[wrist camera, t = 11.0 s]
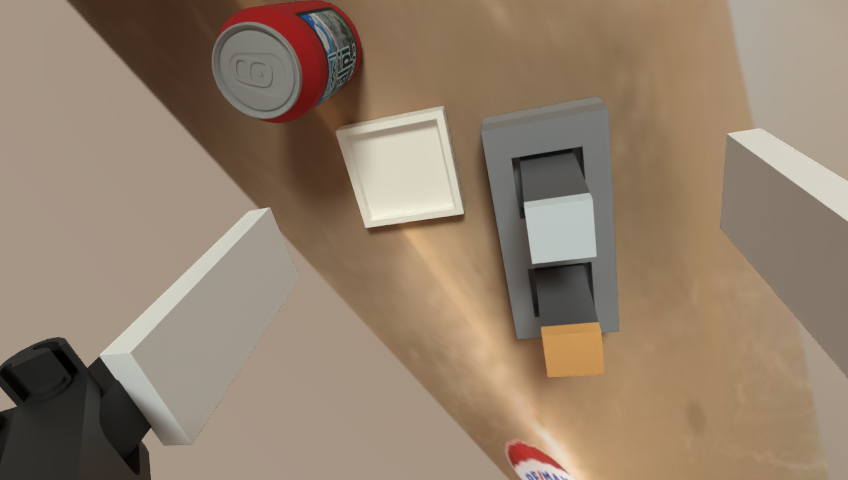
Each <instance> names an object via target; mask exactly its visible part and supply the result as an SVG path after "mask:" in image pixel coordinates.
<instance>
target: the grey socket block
mask: <svg viewBox="0 0 848 480" xmlns="http://www.w3.org/2000/svg"><path fill="white" fill-rule="evenodd" d="M481 135H482V141H483V146H484V152H485V158H486V164H487V169H488V175H489V181H490V187H491V192H492V198H493V204H494V210H495V215H496V221H497V227H498V233H499V238H500V244H501V250H502V256H503V261H504V267H505V273H506V279H507V284H508V290H509V296H510V302H511V307H512V313H513V319H514V325H515V330H516V336H517V340H518V339H530V338H542V332H541V323H540V314H539V305H538V295H537V286H536V277H535V268H540V267H549V266H558V265H567V264H576V263H582V264H583V267H584V271H585V275H586V278H587V282H588V285H589V289H590V293H591V296H592V300H593V303H594V307H595V311H596V314H597V318H598V321H599V325H600V329H601V333H607V332H619V315H618V294H617V273H616V253H615V232H614V211H613V190H612V170H611V149H610V128H609V109H608V107H607V106H606V105H605V104H604V102H603V101H602V100H601V99H600V97H599V96H597V97H592V98H586V99H581V100H576V101H571V102H565V103H560V104H555V105H549V106H544V107H539V108H534V109H528V110H523V111H518V112H512V113H507V114H502V115H496V116H491V117H486V118H483V121H482V128H481ZM569 148H572V149H573V152H574V154H575V157H576V159H577V162H578V164H579V167H580V169H581V172H582V174H583V177H584V179H585V182H586V184H587V187H588V189H589V191H590V194H591V196H592V199H593V211H594V226H595V240H596V254H597V257H589V258H580V259H572V260H563V261H554V262H545V263H536V264H532V259H531V252H530V245H529V238H528V231H527V223H526V216H525V209H524V199H523V188H522V178H521V167H520V157H521V156H527V155H533V154H539V153H545V152H551V151H557V150H563V149H569Z"/></svg>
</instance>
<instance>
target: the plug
mask: <svg viewBox="0 0 848 480" xmlns="http://www.w3.org/2000/svg"><path fill="white" fill-rule="evenodd" d="M535 277H536V286H537V295H538V305H539V314H540V323H541V332H542V340H543V347H544V354H545V361H546V368H547V375H548V377H565V376H582V375H599V374H604V364H603V349H602V335H601V329H600V325H599V321H598V318H597V314H596V311H595V307H594V303H593V300H592V296H591V293H590V289H589V285H588V282H587V278H586V275H585V271H584V267H583V264H582V263H576V264H567V265H558V266H549V267H540V268H535Z"/></svg>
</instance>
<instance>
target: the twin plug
mask: <svg viewBox="0 0 848 480" xmlns="http://www.w3.org/2000/svg"><path fill="white" fill-rule="evenodd" d="M520 167H521V178H522V188H523V199H524V209H525V216H526V223H527V231H528V238H529V245H530V252H531V259H532V264H536V263H545V262H554V261H563V260H572V259H580V258H589V257H597V254H596V240H595V226H594V211H593V199H592V196H591V194H590V191H589V189H588V187H587V184H586V182H585V179H584V177H583V174H582V172H581V169H580V167H579V164H578V162H577V159H576V157H575V154H574V152H573V149H572V148H569V149H563V150H557V151H551V152H545V153H539V154H533V155H527V156H521V157H520Z"/></svg>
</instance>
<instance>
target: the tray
mask: <svg viewBox="0 0 848 480" xmlns="http://www.w3.org/2000/svg"><path fill="white" fill-rule="evenodd" d="M335 132H336V136H337V139H338V142H339V145H340V148H341V151H342V155H343V158H344V161H345V164H346V167H347V170H348V174H349V177H350V180H351V183H352V186H353V189H354V192H355V196H356V199H357V202H358V205H359V208H360V211H361V215H362V218H363V221H364V224H365V227H366V228H369V227H376V226H383V225H390V224H397V223H404V222H411V221H418V220H425V219H432V218H439V217H446V216H453V215H460V214H464V210H465V204H464V199H463V194H462V189H461V184H460V179H459V174H458V170H457V165H456V160H455V155H454V150H453V145H452V140H451V135H450V130H449V125H448V121H447V116H446V111H445V106H439V107H434V108H429V109H424V110H419V111H414V112H409V113H404V114H399V115H394V116H389V117H384V118H379V119H374V120H369V121H364V122H359V123H354V124H349V125H344V126H340V127H339V128H338V129H337V130H336V131H335Z"/></svg>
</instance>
